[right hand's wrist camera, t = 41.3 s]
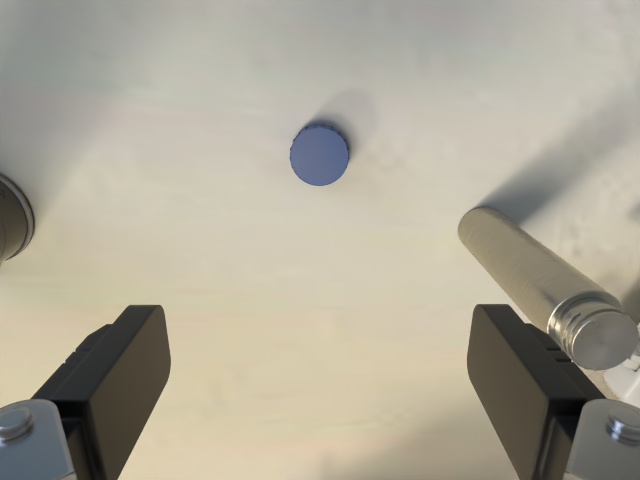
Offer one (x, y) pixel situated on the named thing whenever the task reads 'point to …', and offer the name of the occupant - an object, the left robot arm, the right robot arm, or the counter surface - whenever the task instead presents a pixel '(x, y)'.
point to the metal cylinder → (551, 291)
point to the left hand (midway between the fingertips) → (624, 288)
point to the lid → (319, 155)
